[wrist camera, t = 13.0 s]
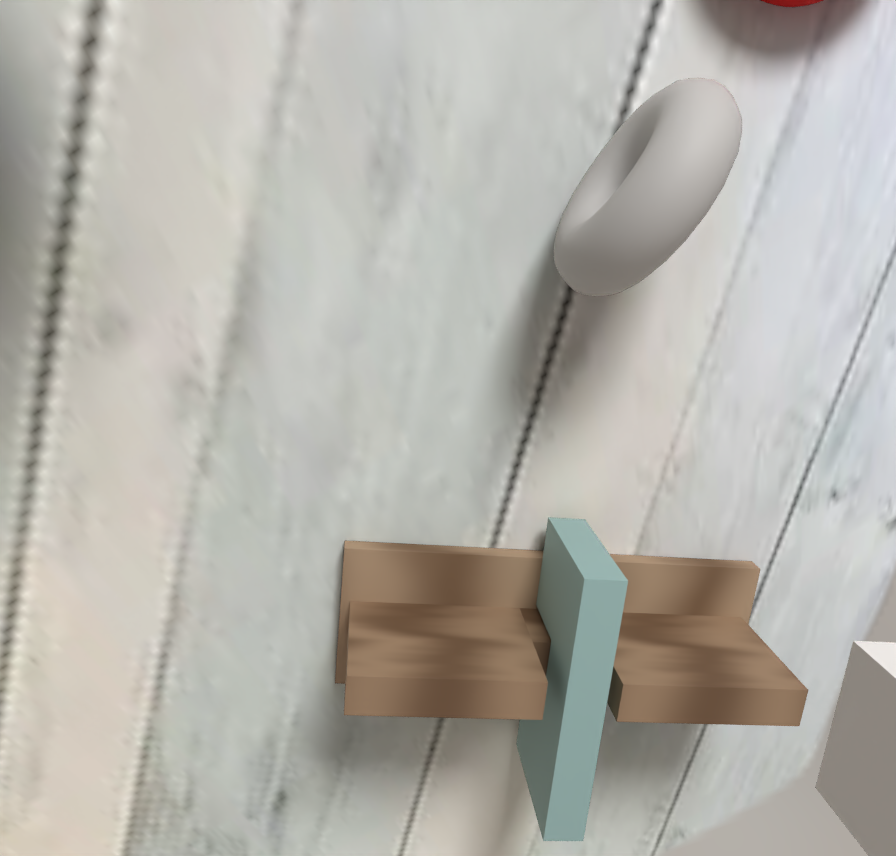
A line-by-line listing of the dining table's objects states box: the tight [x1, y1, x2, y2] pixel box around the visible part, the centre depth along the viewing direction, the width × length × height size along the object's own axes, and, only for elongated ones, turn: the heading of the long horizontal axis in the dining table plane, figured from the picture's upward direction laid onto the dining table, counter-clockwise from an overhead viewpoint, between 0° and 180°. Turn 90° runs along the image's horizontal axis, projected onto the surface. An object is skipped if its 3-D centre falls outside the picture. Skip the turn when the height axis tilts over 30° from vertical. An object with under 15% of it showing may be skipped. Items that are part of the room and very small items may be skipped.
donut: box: [554, 78, 742, 296], centre depth 33 cm, size 10×4×10 cm, turn 147°
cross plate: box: [516, 517, 628, 841], centre depth 40 cm, size 14×2×7 cm, turn 174°
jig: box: [335, 541, 808, 726], centre depth 40 cm, size 23×8×8 cm, turn 84°
